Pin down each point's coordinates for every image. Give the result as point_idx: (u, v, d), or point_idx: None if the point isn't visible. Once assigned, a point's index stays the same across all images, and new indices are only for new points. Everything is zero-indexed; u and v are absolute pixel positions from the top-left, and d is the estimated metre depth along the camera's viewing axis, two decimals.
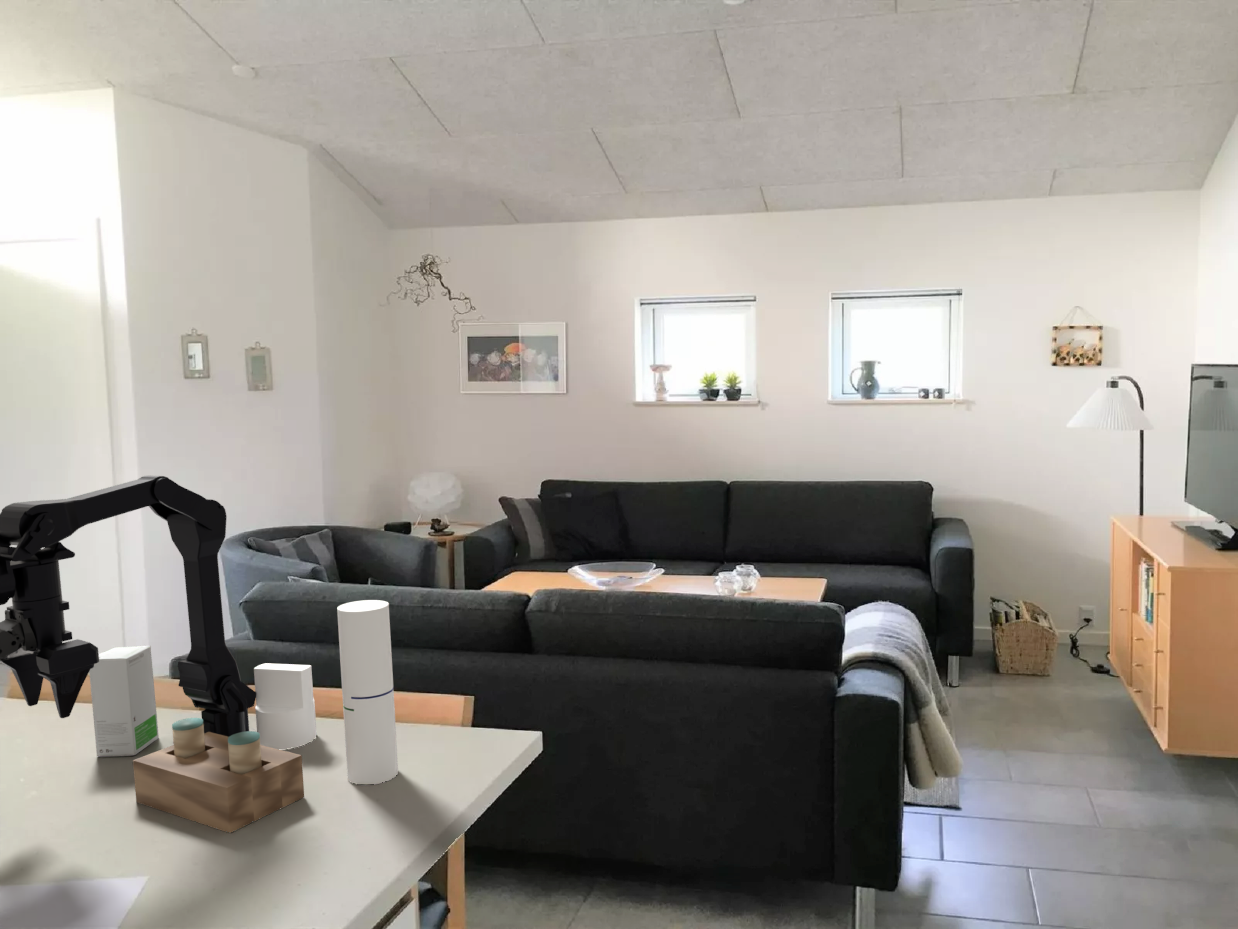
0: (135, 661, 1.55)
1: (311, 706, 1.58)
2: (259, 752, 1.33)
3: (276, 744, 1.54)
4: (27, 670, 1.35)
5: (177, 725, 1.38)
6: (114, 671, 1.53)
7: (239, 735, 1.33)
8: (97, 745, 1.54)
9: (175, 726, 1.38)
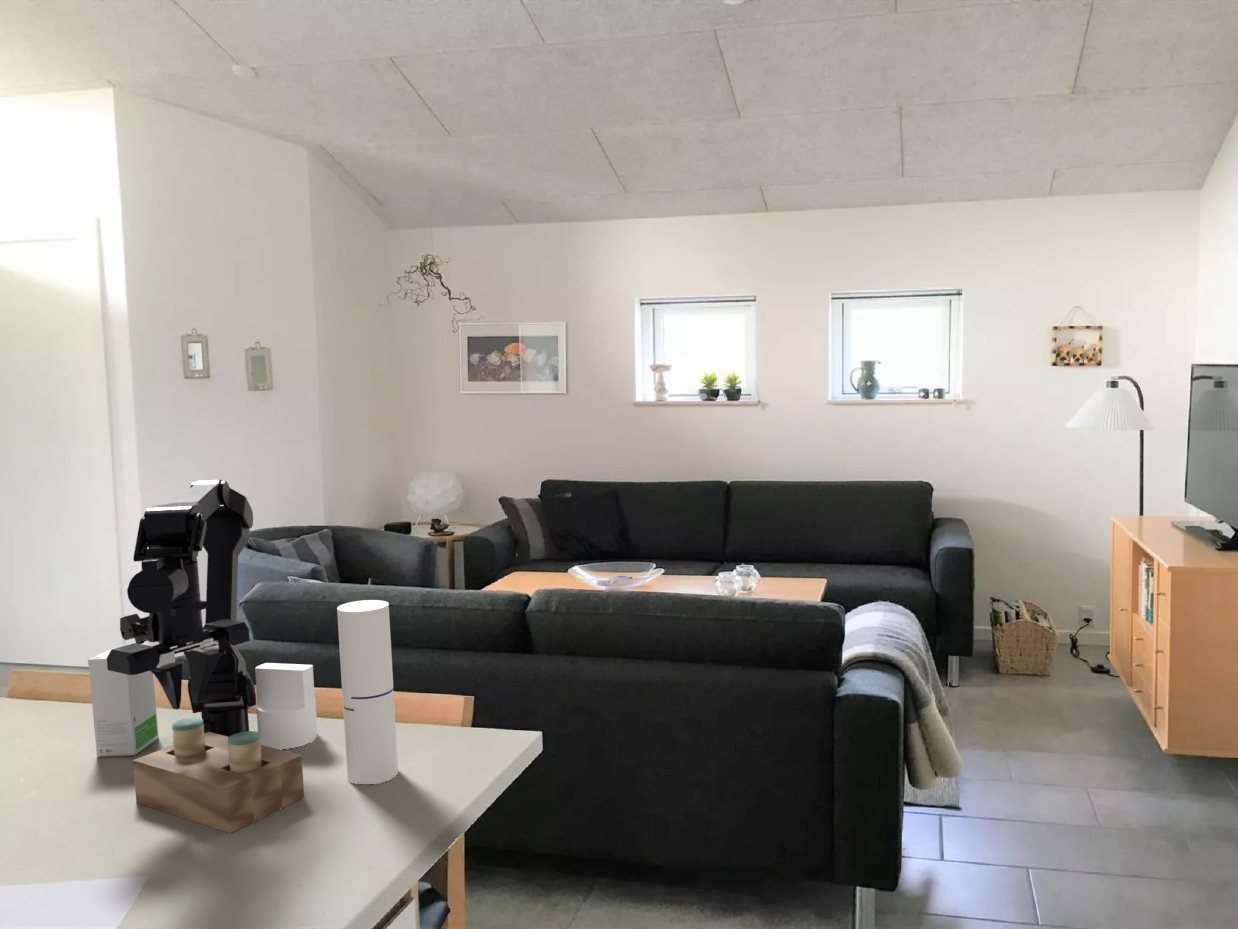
0: None
1: (313, 706, 1.58)
2: (259, 752, 1.33)
3: (278, 744, 1.54)
4: (194, 667, 1.40)
5: (177, 725, 1.38)
6: None
7: (239, 735, 1.33)
8: (97, 745, 1.54)
9: (175, 726, 1.38)
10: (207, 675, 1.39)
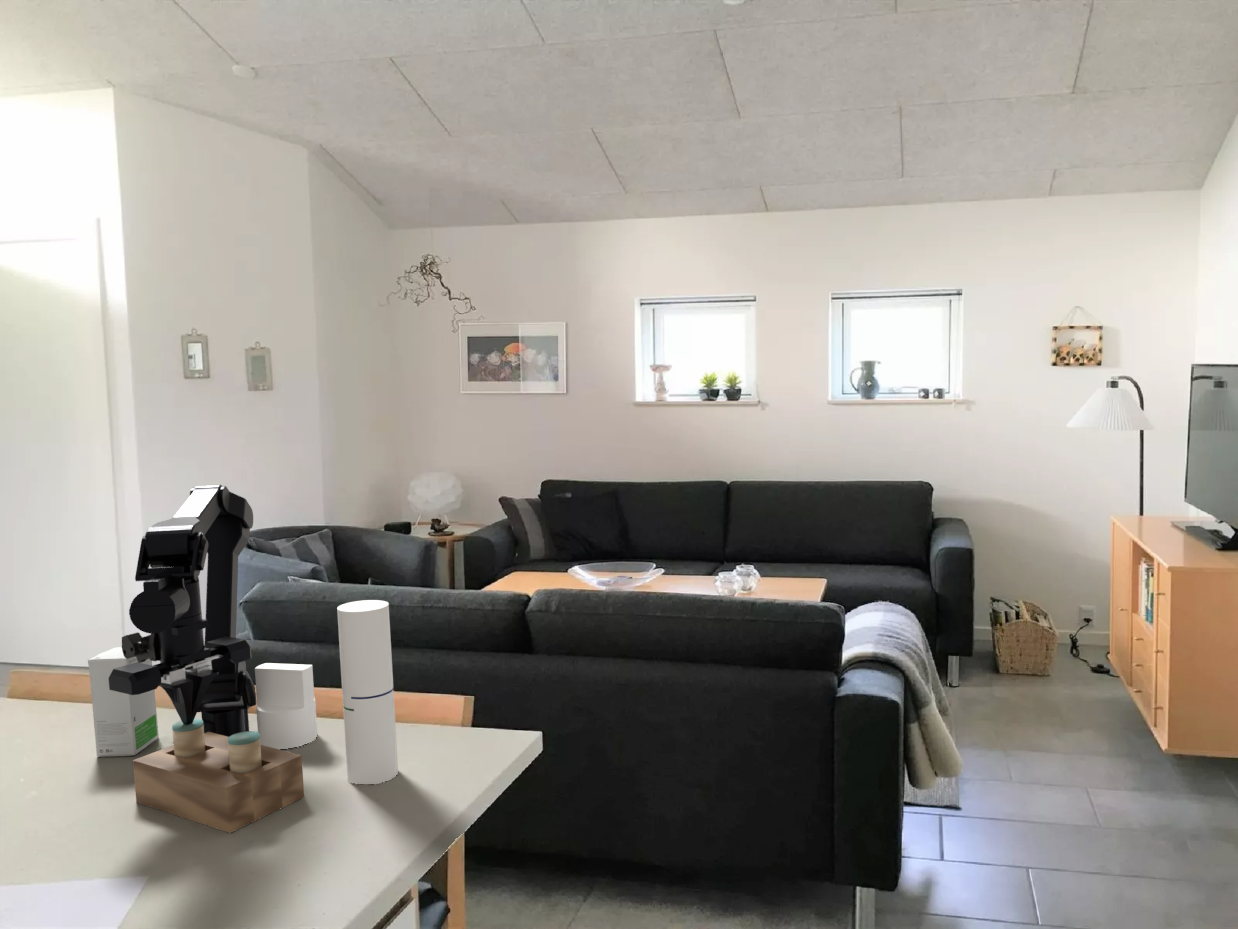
0: (135, 661, 1.55)
1: (312, 706, 1.58)
2: (259, 752, 1.33)
3: (278, 744, 1.54)
4: None
5: (177, 726, 1.38)
6: None
7: (239, 735, 1.33)
8: (97, 745, 1.54)
9: (175, 727, 1.38)
10: (200, 697, 1.39)
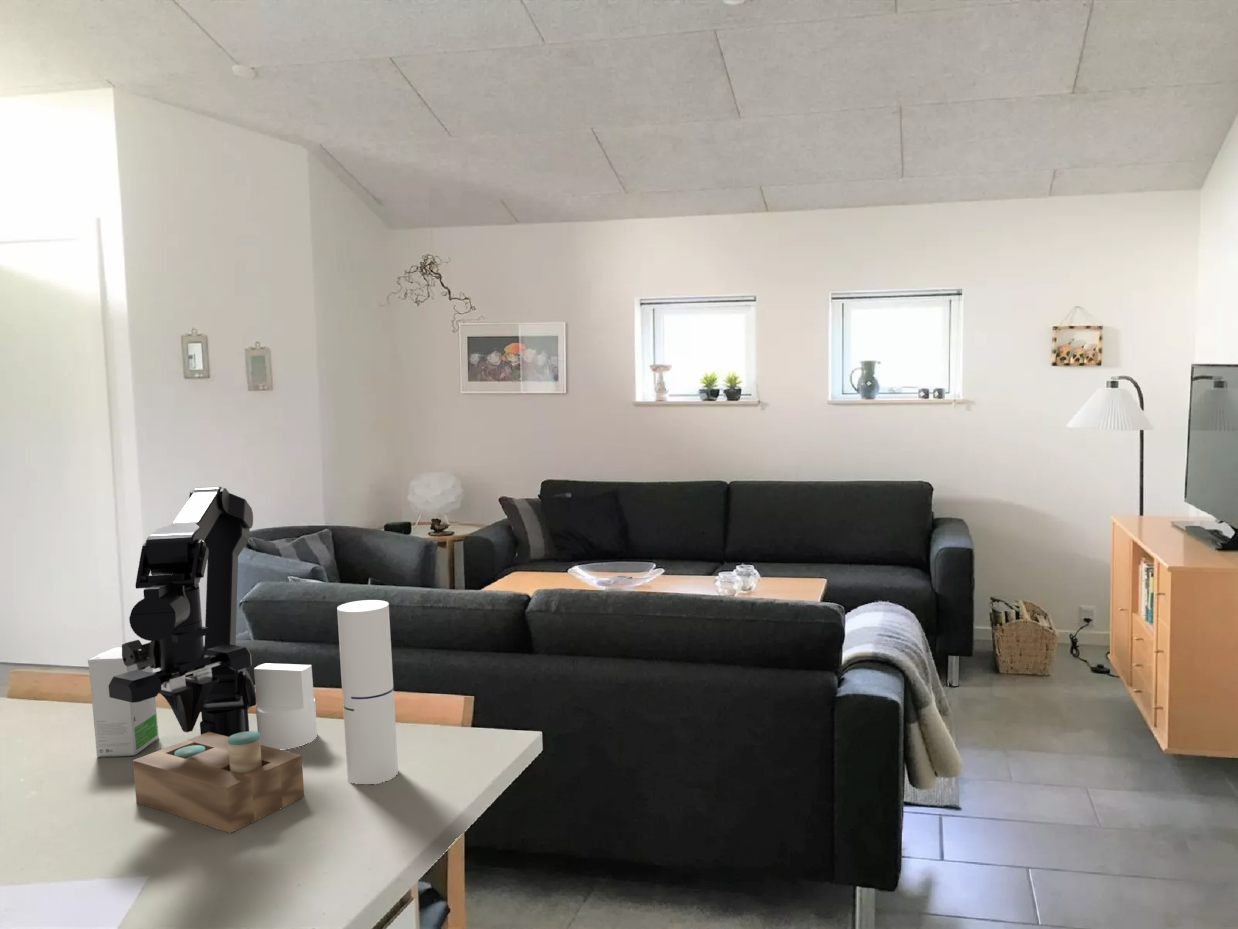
0: None
1: (312, 706, 1.58)
2: (259, 752, 1.33)
3: (277, 744, 1.54)
4: None
5: (179, 753, 1.38)
6: (114, 671, 1.53)
7: (239, 735, 1.33)
8: (97, 745, 1.54)
9: (177, 754, 1.38)
10: (200, 704, 1.38)
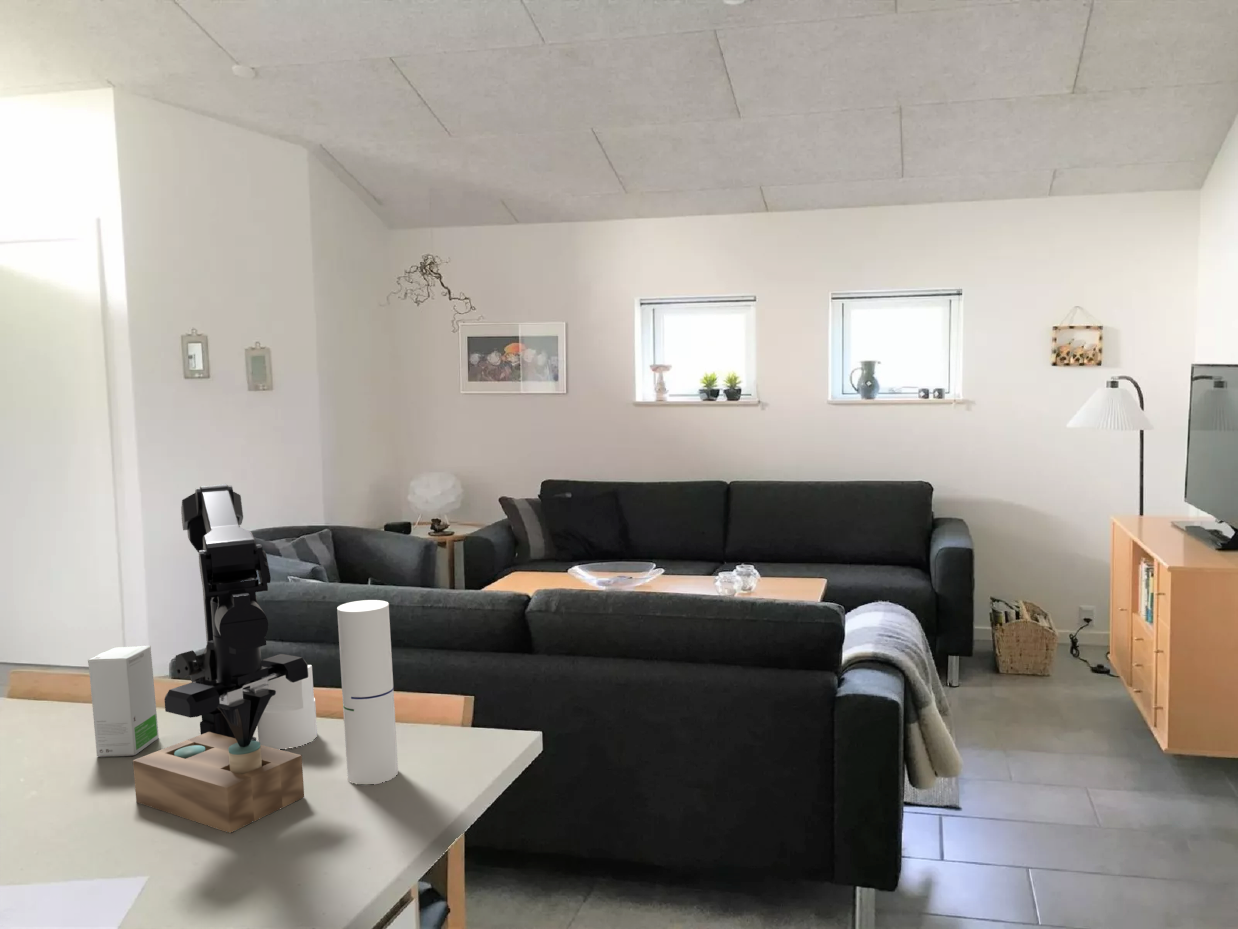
0: (135, 661, 1.55)
1: (312, 706, 1.58)
2: (259, 762, 1.33)
3: (276, 744, 1.55)
4: None
5: (179, 753, 1.38)
6: (114, 671, 1.53)
7: None
8: (97, 745, 1.54)
9: (177, 754, 1.38)
10: (257, 718, 1.32)
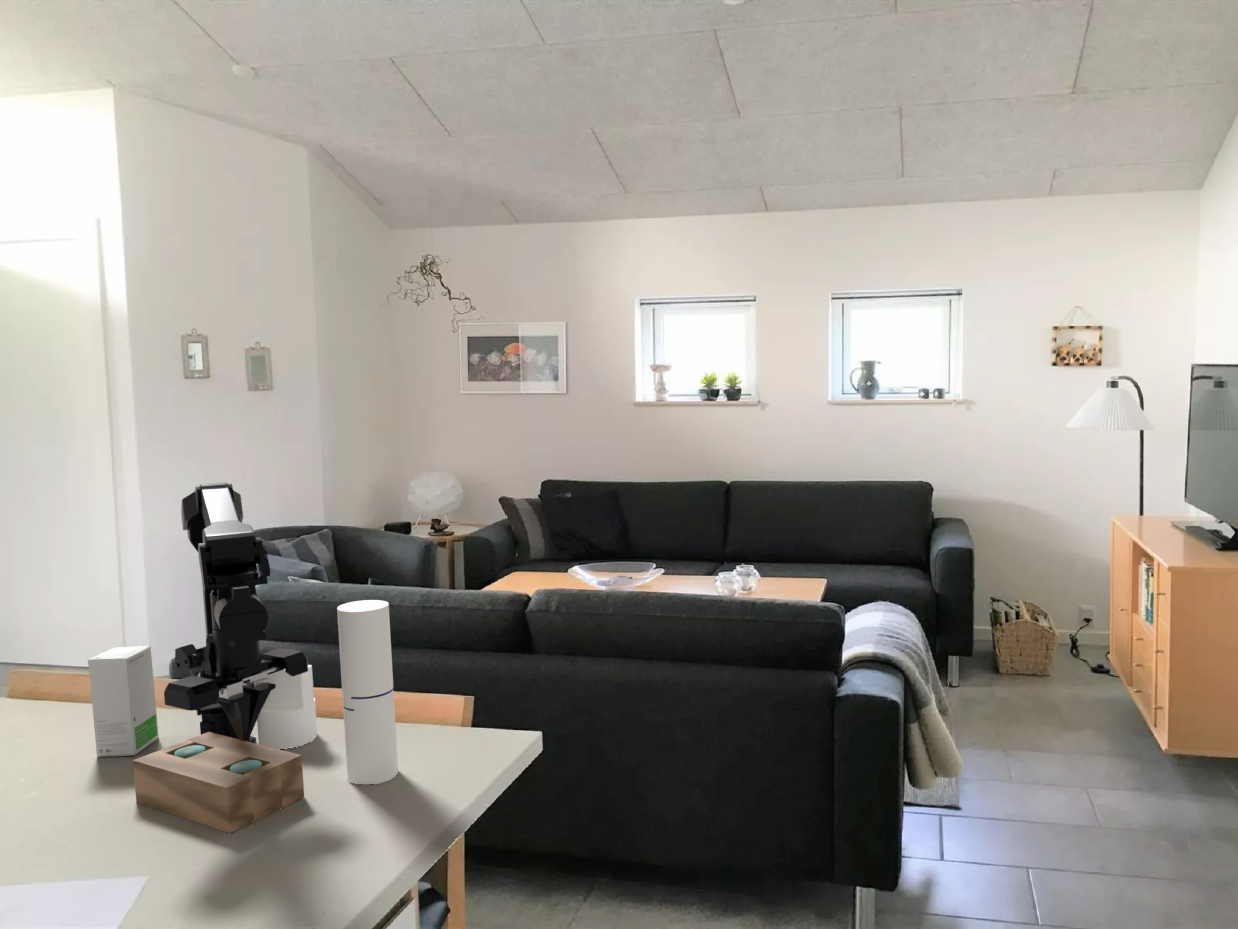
0: (135, 661, 1.55)
1: (312, 706, 1.58)
2: None
3: (276, 744, 1.55)
4: None
5: (179, 753, 1.38)
6: (114, 671, 1.53)
7: (241, 764, 1.34)
8: (97, 745, 1.54)
9: (177, 754, 1.38)
10: (257, 711, 1.32)
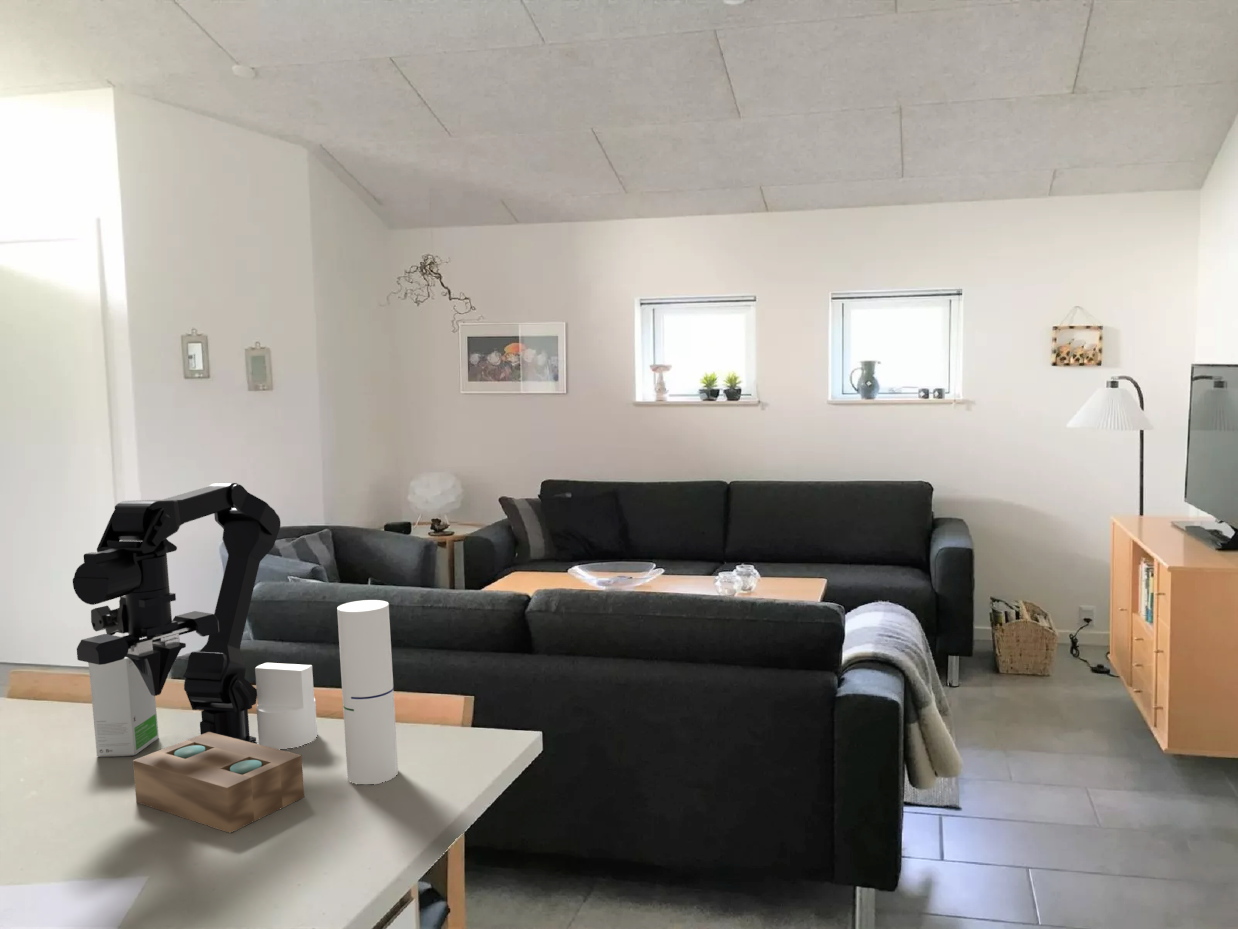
0: None
1: (312, 706, 1.58)
2: None
3: (277, 744, 1.55)
4: None
5: (179, 753, 1.38)
6: (114, 671, 1.53)
7: (241, 764, 1.34)
8: (97, 745, 1.54)
9: (177, 754, 1.38)
10: (167, 668, 1.42)
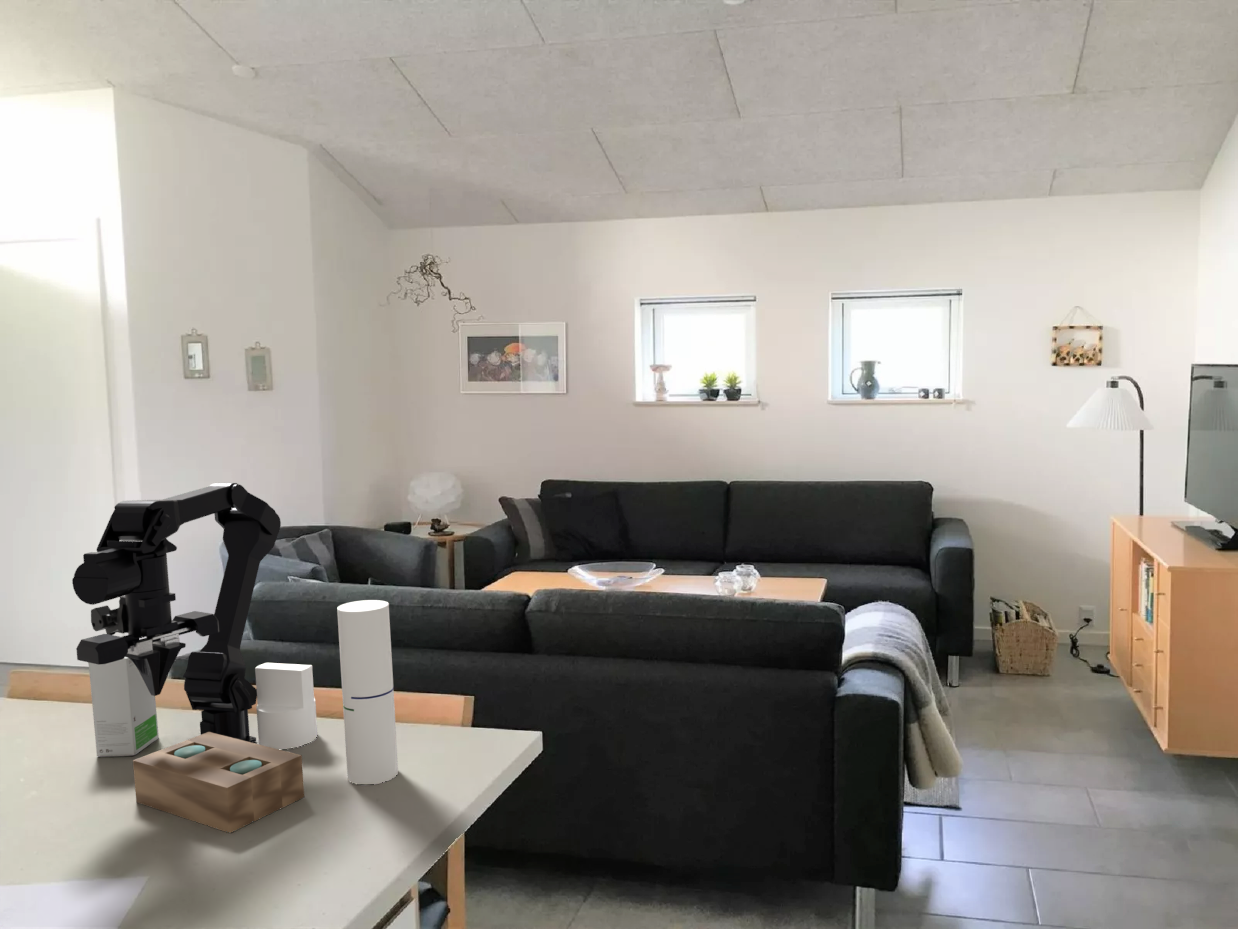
0: None
1: (312, 706, 1.58)
2: None
3: (277, 744, 1.55)
4: None
5: (179, 753, 1.38)
6: (114, 671, 1.53)
7: (241, 764, 1.34)
8: (97, 745, 1.54)
9: (177, 754, 1.38)
10: (167, 668, 1.42)
